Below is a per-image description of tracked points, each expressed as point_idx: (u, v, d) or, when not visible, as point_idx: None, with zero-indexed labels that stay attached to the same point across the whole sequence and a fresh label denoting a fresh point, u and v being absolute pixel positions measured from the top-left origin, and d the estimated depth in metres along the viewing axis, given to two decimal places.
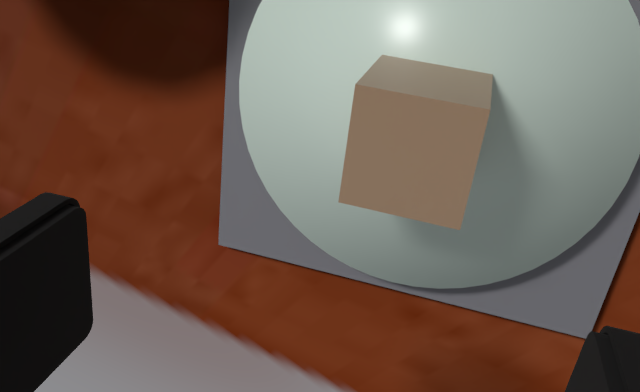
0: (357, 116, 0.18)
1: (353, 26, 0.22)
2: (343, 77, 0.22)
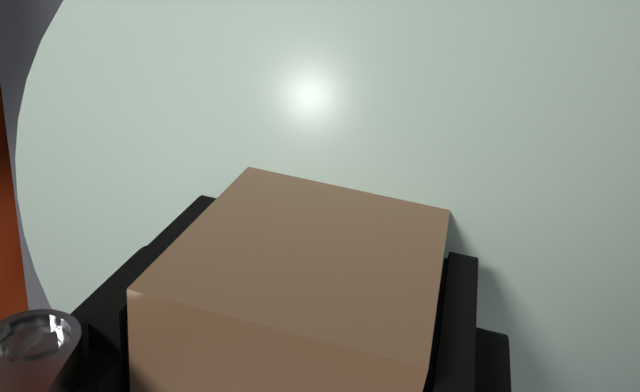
0: (142, 350, 0.08)
1: (193, 115, 0.12)
2: (186, 201, 0.13)
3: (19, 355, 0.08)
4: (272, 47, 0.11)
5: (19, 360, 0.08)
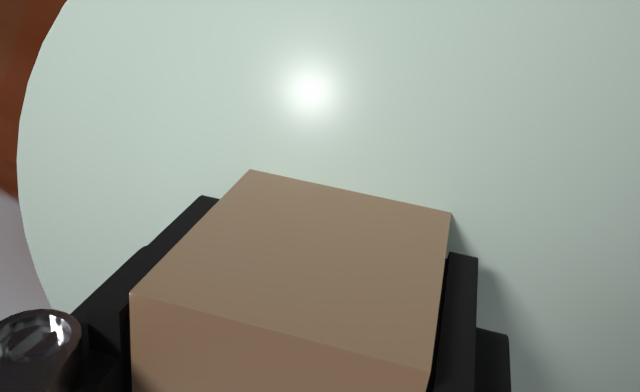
0: (144, 353, 0.08)
1: (195, 117, 0.12)
2: (187, 203, 0.13)
3: (19, 355, 0.08)
4: (274, 50, 0.11)
5: (19, 360, 0.08)
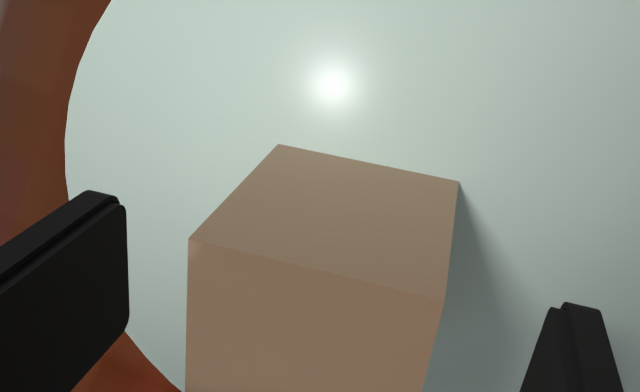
0: (199, 292, 0.10)
1: (229, 98, 0.13)
2: (221, 176, 0.14)
3: None
4: (302, 36, 0.12)
5: None
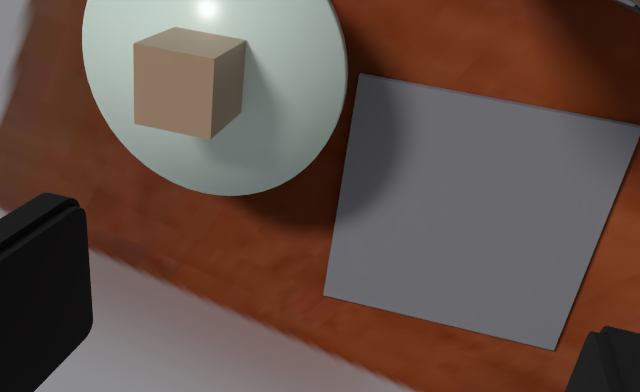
0: (137, 64, 0.28)
1: (154, 7, 0.31)
2: None
3: None
4: None
5: None
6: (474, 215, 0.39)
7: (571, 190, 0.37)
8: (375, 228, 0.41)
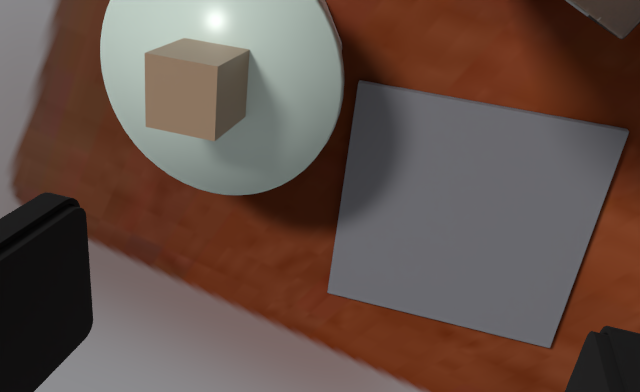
0: (148, 72, 0.31)
1: (165, 19, 0.34)
2: None
3: None
4: None
5: None
6: (470, 215, 0.41)
7: (562, 191, 0.39)
8: (376, 228, 0.43)
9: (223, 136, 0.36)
